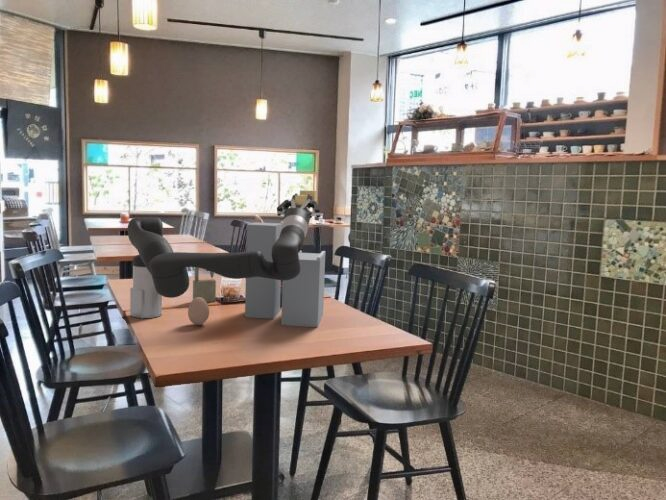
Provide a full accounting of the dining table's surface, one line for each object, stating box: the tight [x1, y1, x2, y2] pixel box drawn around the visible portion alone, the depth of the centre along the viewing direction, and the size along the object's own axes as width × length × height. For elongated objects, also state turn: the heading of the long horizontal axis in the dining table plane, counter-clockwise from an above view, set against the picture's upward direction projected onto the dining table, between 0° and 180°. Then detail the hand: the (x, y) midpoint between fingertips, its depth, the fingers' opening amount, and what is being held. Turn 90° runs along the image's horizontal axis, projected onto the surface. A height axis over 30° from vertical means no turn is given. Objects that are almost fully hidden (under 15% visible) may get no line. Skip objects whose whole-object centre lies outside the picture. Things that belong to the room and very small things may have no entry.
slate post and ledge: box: [244, 221, 326, 328], centre depth 187 cm, size 20×26×32 cm
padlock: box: [192, 267, 217, 303], centre depth 209 cm, size 4×8×15 cm, turn 119°
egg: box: [187, 297, 210, 326], centre depth 175 cm, size 7×7×9 cm
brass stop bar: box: [294, 190, 317, 206], centre depth 178 cm, size 20×5×5 cm, turn 175°
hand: (302, 196), depth 172 cm, fingers closed on brass stop bar, 3 cm apart
